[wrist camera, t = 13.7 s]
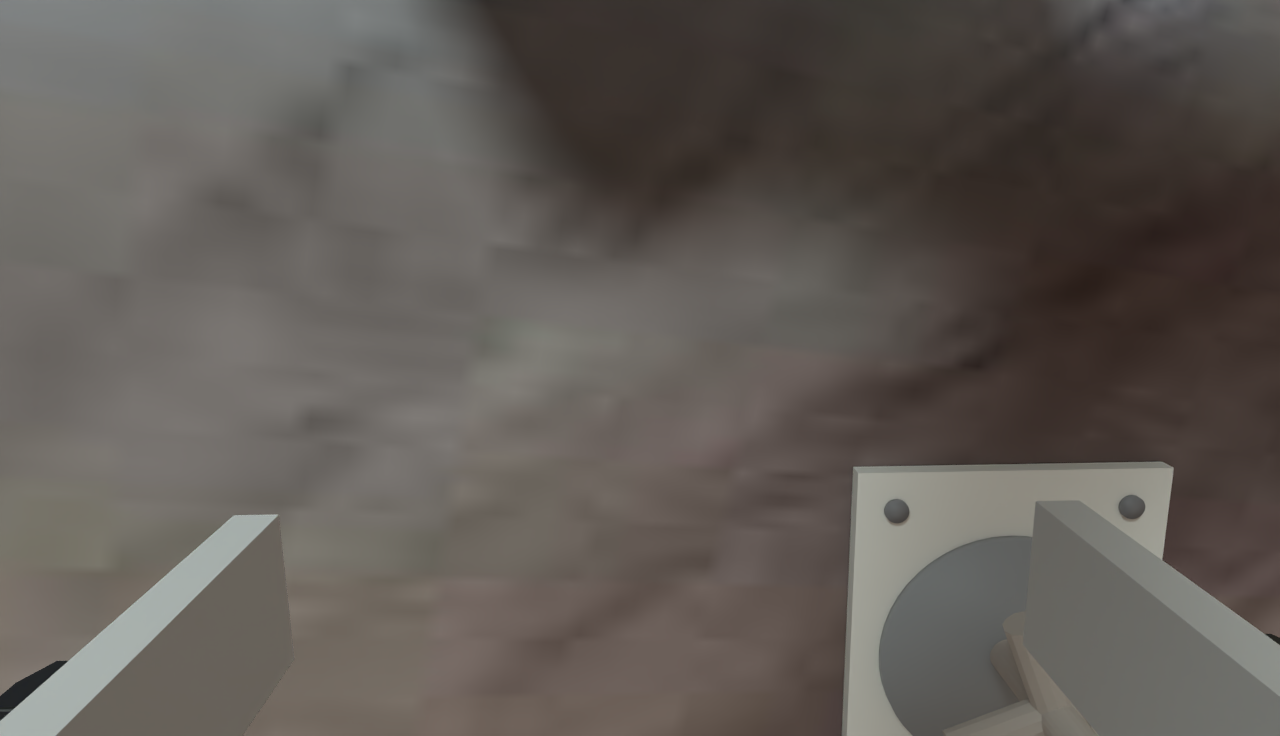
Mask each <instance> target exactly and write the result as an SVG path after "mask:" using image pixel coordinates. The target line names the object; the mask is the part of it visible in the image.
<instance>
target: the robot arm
mask: <svg viewBox="0 0 1280 736" xmlns="http://www.w3.org/2000/svg"><path fill="white" fill-rule="evenodd" d="M1023 646H1024V647H1025V648H1026V649H1027V650H1028V652H1029V653H1030V654H1031V655H1032V656H1033V658H1034V659H1035V660H1036V661H1037V662H1038V663H1039V665H1040V666H1041V667H1042V668H1043V669H1044V671H1045V672H1046V673H1047V674H1048V675H1049V677H1050V678H1051V679H1052V680H1053V681H1054V682H1055V684H1056V685H1057V686H1058V687H1059V688H1060V690H1061V691H1062V692H1063V693H1064V694H1065V696H1066V697H1067V698H1068V699H1069V700H1070V701H1071V703H1072V704H1073V705H1074V706H1075V707H1076V709H1077V710H1078V711H1079V712H1080V713H1081V715H1082V716H1083V717H1084V718H1085V719H1086V720H1087V722H1088V723H1089V724H1090V725H1091V726H1092V728H1093V729H1094V730H1095V731H1096V732H1097V734H1098V735H1099V736H1280V638H1279V637H1277V636H1274V635H1272V634H1264V633H1262V632H1261V631H1259V630H1258V629H1257V628H1255V627H1254V626H1253V625H1251V624H1250V623H1248V622H1247V621H1246V620H1244V619H1243V618H1241V617H1240V616H1239V615H1237V614H1236V613H1235V612H1233V611H1232V610H1230V609H1229V608H1228V607H1226V606H1225V605H1224V604H1222V603H1221V602H1219V601H1218V600H1217V599H1215V598H1214V597H1212V596H1211V595H1210V594H1208V593H1207V592H1206V591H1204V590H1203V589H1201V588H1200V587H1199V586H1197V585H1196V584H1194V583H1193V582H1192V581H1190V580H1189V579H1188V578H1186V577H1185V576H1183V575H1182V574H1181V573H1179V572H1178V571H1176V570H1175V569H1174V568H1172V567H1171V566H1170V565H1168V564H1167V563H1165V562H1164V561H1163V560H1161V559H1160V558H1158V557H1157V556H1156V555H1154V554H1153V553H1152V552H1150V551H1149V550H1147V549H1146V548H1145V547H1143V546H1142V545H1140V544H1139V543H1138V542H1136V541H1135V540H1134V539H1132V538H1131V537H1129V536H1128V535H1127V534H1125V533H1124V532H1122V531H1121V530H1120V529H1118V528H1117V527H1116V526H1114V525H1113V524H1111V523H1110V522H1109V521H1107V520H1106V519H1104V518H1103V517H1102V516H1100V515H1099V514H1098V513H1096V512H1095V511H1093V510H1092V509H1091V508H1089V507H1088V506H1086V505H1085V504H1084V503H1082V502H1081V501H1080V500H1069V501H1036V503H1035V514H1034V525H1033V536H1032V547H1031V558H1030V569H1029V580H1028V591H1027V602H1026V613H1025V624H1024V635H1023ZM293 661H294V651H293V641H292V632H291V623H290V614H289V604H288V595H287V586H286V577H285V567H284V558H283V549H282V540H281V530H280V521H279V515H234V516H233V517H232V518H231V519H229V520H228V521H227V522H226V523H225V524H224V525H223V526H221V527H220V528H219V529H218V530H217V531H216V532H215V533H213V534H212V535H211V536H210V537H209V538H208V539H207V540H206V541H204V542H203V543H202V544H201V545H200V546H199V547H198V548H196V549H195V550H194V551H193V552H192V553H191V554H190V555H188V556H187V557H186V558H185V559H184V560H183V561H182V562H180V563H179V564H178V565H177V566H176V567H175V568H174V569H173V570H171V571H170V572H169V573H168V574H167V575H166V576H165V577H163V578H162V579H161V580H160V581H159V582H158V583H157V584H155V585H154V586H153V587H152V588H151V589H150V590H149V591H147V592H146V593H145V594H144V595H143V596H142V597H141V598H140V599H138V600H137V601H136V602H135V603H134V604H133V605H132V606H130V607H129V608H128V609H127V610H126V611H125V612H124V613H122V614H121V615H120V616H119V617H118V618H117V619H116V620H115V621H113V622H112V623H111V624H110V625H109V626H108V627H107V628H105V629H104V630H103V631H102V632H101V633H100V634H99V635H97V636H96V637H95V638H94V639H93V640H92V641H91V642H89V643H88V644H87V645H86V646H85V647H84V648H83V649H82V650H80V651H79V652H78V653H77V654H76V655H75V656H74V657H72V658H71V659H70V660H69V661H56V662H54V663H52V664H50V665H49V666H47V667H45V668H43V669H41V670H39V671H37V672H35V673H34V674H32V675H30V676H28V677H26V678H24V679H22V680H20V681H19V682H17V683H15V684H14V685H13V686H12V687H11V688H9V689H8V690H7V691H6V692H5V693H3V694H2V695H1V696H0V736H243V734H244V733H245V731H246V730H247V728H248V727H249V726H250V724H251V723H252V721H253V720H254V718H255V717H256V715H257V714H258V712H259V711H260V709H261V708H262V706H263V705H264V703H265V702H266V700H267V699H268V698H269V696H270V695H271V693H272V692H273V690H274V689H275V687H276V686H277V684H278V683H279V681H280V680H281V678H282V677H283V675H284V674H285V672H286V671H287V669H288V668H289V667H290V665H291V664H292V662H293Z"/></svg>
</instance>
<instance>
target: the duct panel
mask: <svg viewBox="0 0 1280 736" xmlns="http://www.w3.org/2000/svg"><path fill="white" fill-rule="evenodd" d="M1173 470H1174V468H1173V467H1171V466H1169V465H1168V464H1166V463H1164V462H1106V463H1047V464H989V465H930V466H872V467H853V483H852V506H851V529H850V553H849V576H848V600H847V623H846V646H845V670H844V693H843V717H842V736H944V735H943V732H942V731H943V730H945V729H947V728H950V727H953V726H955V725H958V724H961V723H963V722H966V721H969V720H971V719H974V718H977V717H979V716H982V715H985V714H987V713H990V712H993V711H996V710H998V709H1001V708H1004V707H1006V706H1009V705H1012V704H1014V703H1017V702H1020V701H1019V699H1018V698H1017V697H1016V695H1015V694H1014V693H1013V691H1012V690H1011V689H1010V687H1009V686H1008V685H1007V683H1006V682H1005V681H1004V679H1003V678H1002V677H1001V675H1000V674H999V673H998V671H997V670H996V669H995V667H994V666H993V664H992V663H991V660H990V653H991V650H992V648H993V647H994V645H996V644H997V643H998V642H1000V641H1002V640H1006V639H1007V637H1006V634H1005V632H1004V628H1003V625H1002V624H1003V623H1004V621H1005V619H1006V618H1007V617H1009V616H1011V615H1012V614H1014V613H1018V612H1023V611H1026V602H1027V591H1028V580H1029V569H1030V558H1031V547H1032V536H1033V525H1034V514H1035V503H1036V501H1069V500H1080V501H1081V502H1082V503H1084V504H1085V505H1086V506H1088V507H1089V508H1091V509H1092V510H1093V511H1095V512H1096V513H1098V514H1099V515H1100V516H1102V517H1103V518H1104V519H1106V520H1107V521H1109V522H1110V523H1111V524H1113V525H1114V526H1116V527H1117V528H1118V529H1120V530H1121V531H1122V532H1124V533H1125V534H1127V535H1128V536H1129V537H1131V538H1132V539H1134V540H1135V541H1136V542H1138V543H1139V544H1140V545H1142V546H1143V547H1145V548H1146V549H1147V550H1149V551H1150V552H1152V553H1153V554H1154V555H1156V556H1157V557H1158V558H1160V559H1161V560H1162V558H1163V550H1164V542H1165V534H1166V526H1167V518H1168V510H1169V502H1170V494H1171V486H1172V478H1173ZM1088 724H1089V723H1088ZM1089 725H1090V724H1089ZM1090 727H1091V728H1092V726H1091V725H1090ZM1092 729H1093V728H1092ZM1093 730H1094V729H1093ZM1094 731H1095V730H1094ZM1095 732H1096V731H1095ZM1096 734H1097V732H1096ZM1097 735H1098V734H1097ZM1098 736H1099V735H1098Z"/></svg>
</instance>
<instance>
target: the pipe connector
mask: <svg viewBox="0 0 1280 736" xmlns="http://www.w3.org/2000/svg"><path fill="white" fill-rule="evenodd" d="M1025 613H1026V611H1023V612H1018V613H1014V614H1012V615H1011V616H1009V617H1007V618H1006V619H1005V621H1004V623H1003V624H1002V625H1003V628H1004V632H1005V634H1006V637H1007V639H1006V640H1002V641H1000V642H998V643H997V644H996V645H994V647H993V648H992V650H991V653H990V660H991V663H992V664H993V666H994V667H995V669H996V670H997V671H998V673H999V674H1000V675H1001V677H1002V678H1003V679H1004V681H1005V682H1006V683H1007V685H1008V686H1009V687H1010V689H1011V690H1012V691H1013V693H1014V694H1015V695H1016V697H1017V698H1018V699H1019V701H1020V702H1017V703H1014V704H1012V705H1009V706H1006V707H1004V708H1001V709H998V710H996V711H993V712H990V713H987V714H985V715H982V716H979V717H977V718H974V719H971V720H969V721H966V722H963V723H961V724H958V725H955V726H953V727H950V728H947V729H945V730H943V731H942V732H943V735H944V736H1098V735H1097V734H1096V732H1095V731H1094V730H1093V729H1092V728H1091V727H1090V725H1089V724H1088V722H1087V720H1086V719H1085V718H1084V717H1083V716H1082V715H1081V713H1080V712H1079V711H1078V710H1077V709H1076V707H1075V706H1074V705H1073V704H1072V703H1071V701H1070V700H1069V699H1068V698H1067V697H1066V696H1065V694H1064V693H1063V692H1062V691H1061V690H1060V688H1059V687H1058V686H1057V685H1056V684H1055V682H1054V681H1053V680H1052V679H1051V678H1050V677H1049V675H1048V674H1047V673H1046V672H1045V671H1044V669H1043V668H1042V667H1041V666H1040V665H1039V663H1038V662H1037V661H1036V660H1035V659H1034V658H1033V656H1032V655H1031V654H1030V653H1029V652H1028V650H1027V649H1026V648H1025V647H1024V646H1023V635H1024V624H1025Z"/></svg>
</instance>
